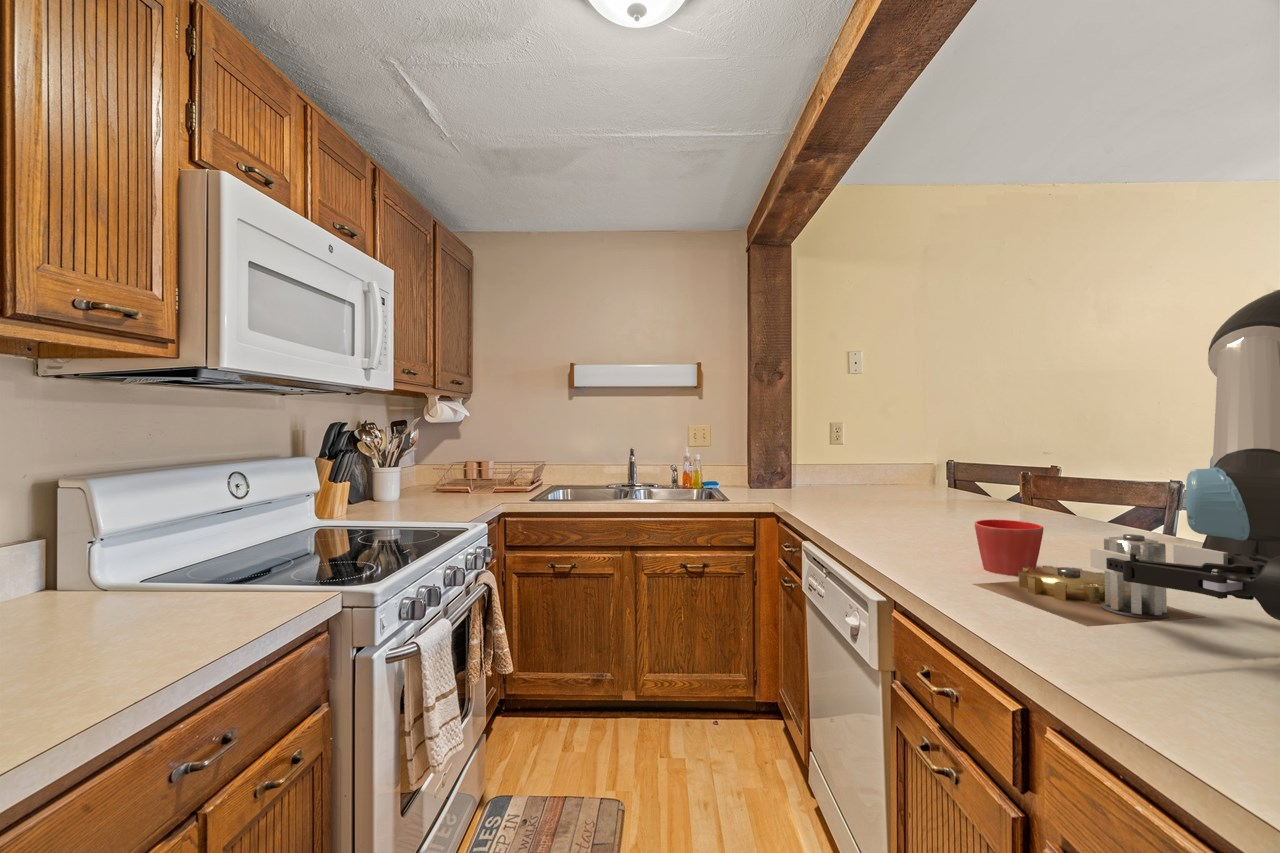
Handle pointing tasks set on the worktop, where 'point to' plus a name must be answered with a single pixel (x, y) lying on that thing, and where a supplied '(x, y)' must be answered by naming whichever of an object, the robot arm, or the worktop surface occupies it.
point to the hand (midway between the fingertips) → (1134, 555)
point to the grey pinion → (1129, 593)
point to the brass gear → (1064, 583)
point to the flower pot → (1008, 545)
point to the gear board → (1081, 607)
